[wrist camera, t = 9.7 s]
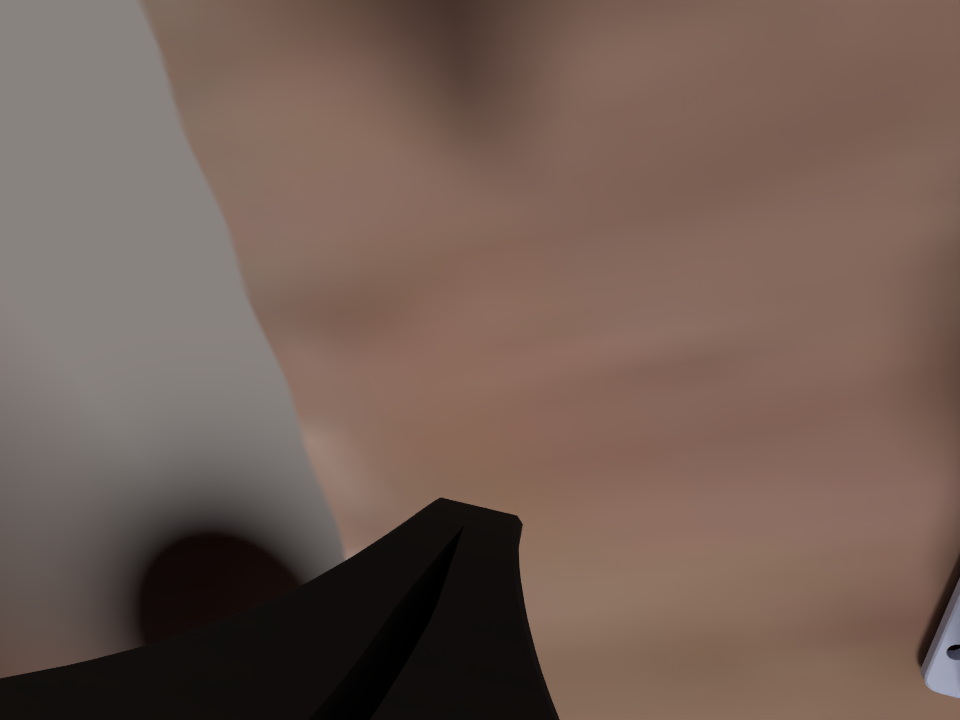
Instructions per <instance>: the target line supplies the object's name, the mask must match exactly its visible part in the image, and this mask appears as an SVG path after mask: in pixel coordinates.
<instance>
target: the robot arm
mask: <svg viewBox="0 0 960 720" xmlns="http://www.w3.org/2000/svg"><path fill="white" fill-rule="evenodd" d="M522 526H523V524H522V522H521V521H520V519H519V518H518V516H517V515H512V514H508V513H504V512H500V511H495V510H491V509H487V508H483V507H479V506H474V505H470V504H466V503H462V502H457V501H453V500H449V499H445V498H439V499H437V500H435V501H434V502H432V503H431V504H429V505H428V506H426V507H425V508H424V509H422V510H421V511H419V512H418V513H416V514H415V515H414V516H412V517H411V518H409V519H408V520H407V521H405V522H404V523H402V524H401V525H400V526H398V527H397V528H395V529H394V530H392V531H391V532H389V533H388V534H386V535H385V536H383V537H382V538H380V539H379V540H377V541H376V542H374V543H373V544H371V545H370V546H368V547H367V548H365V549H364V550H362V551H360V552H359V553H357V554H356V555H354V556H353V557H351V558H349V559H348V560H346V561H344V562H343V563H341V564H339V565H337V566H336V567H334V568H332V569H330V570H329V571H327V572H325V573H323V574H322V575H320V576H318V577H317V578H315V579H313V580H311V581H309V582H307V583H305V584H303V585H301V586H300V587H297V588H295V589H294V590H291V591H289V592H287V593H285V594H283V595H281V596H278V597H276V598H274V599H272V600H270V601H267V602H265V603H263V604H261V605H258V606H256V607H254V608H251V609H249V610H247V611H244V612H242V613H239V614H237V615H234V616H231V617H228V618H225V619H223V620H220V621H217V622H214V623H212V624H209V625H206V626H203V627H200V628H198V629H195V630H192V631H189V632H186V633H184V634H181V635H178V636H175V637H172V638H169V639H166V640H162V641H159V642H156V643H152V644H149V645H145V646H142V647H139V648H135V649H131V650H127V651H124V652H120V653H116V654H112V655H108V656H104V657H100V658H97V659H93V660H89V661H85V662H80V663H76V664H71V665H67V666H62V667H57V668H51V669H47V670H42V671H36V672H31V673H26V674H21V675H16V676H11V677H5V678H1V679H0V720H560V719H559V717H558V714H557V712H556V709H555V707H554V704H553V702H552V699H551V697H550V694H549V691H548V688H547V685H546V682H545V680H544V677H543V674H542V671H541V667H540V664H539V661H538V658H537V654H536V651H535V647H534V643H533V639H532V635H531V631H530V627H529V623H528V619H527V614H526V609H525V603H524V597H523V591H522V584H521V578H520V568H519V543H520V537H521V531H522ZM955 644H957V645H960V578H959V580H958V582H957V585H956V587H955V590H954V592H953V594H952V597H951V599H950V601H949V604H948V606H947V608H946V611H945V613H944V615H943V618H942V620H941V622H940V625H939V627H938V630H937V632H936V634H935V637H934V639H933V641H932V644H931V646H930V648H929V651H928V653H927V655H926V658H925V660H924V662H923V665H922V667H921V675H922V677H923V679H924V681H925V683H926V685H927V686H928V687H929V688H930V689H931V690H933V691H935V692H937V693H941V694H945V695H949V696H953V697H957V698H960V648H959V649H957V650H954V651H952V650H947V649H948V648H949V647H950V646H952V645H955Z"/></svg>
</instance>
